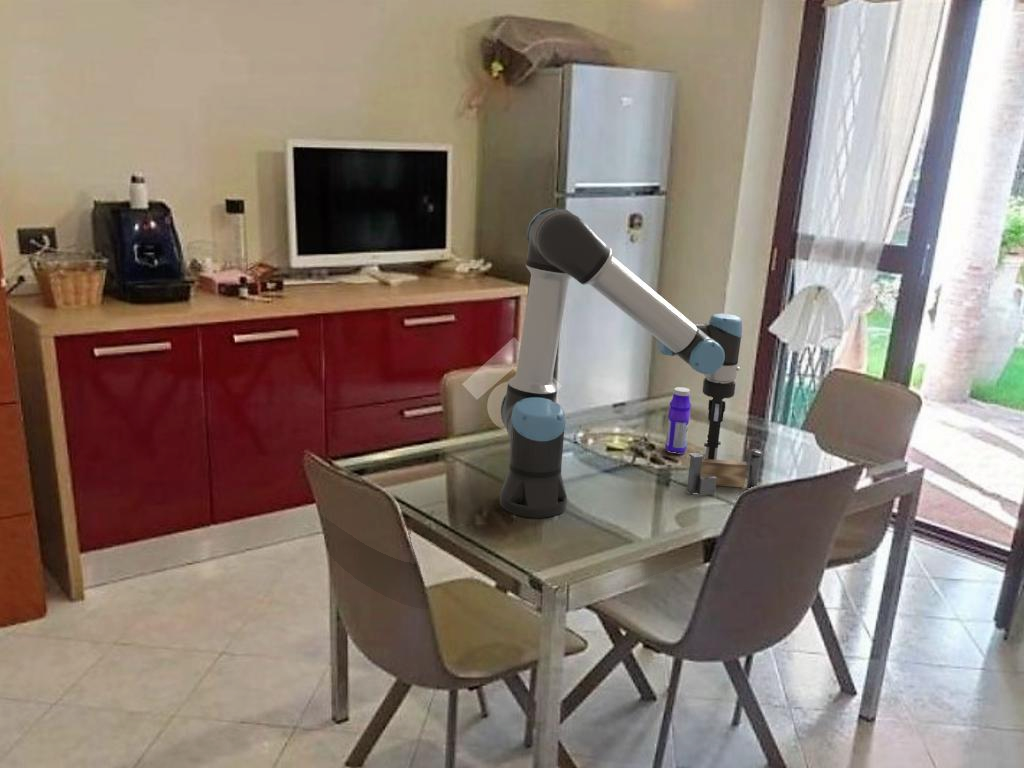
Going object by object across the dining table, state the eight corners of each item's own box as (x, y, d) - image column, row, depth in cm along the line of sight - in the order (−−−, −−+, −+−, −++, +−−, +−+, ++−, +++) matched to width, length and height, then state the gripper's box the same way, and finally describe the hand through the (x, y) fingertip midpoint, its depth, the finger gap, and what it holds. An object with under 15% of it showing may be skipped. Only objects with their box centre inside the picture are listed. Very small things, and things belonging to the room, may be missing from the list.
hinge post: (749, 491, 215) (754, 454, 212) (742, 486, 218) (747, 449, 215) (760, 490, 216) (765, 453, 213) (753, 485, 219) (758, 448, 216)
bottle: (685, 456, 236) (693, 393, 231) (664, 454, 237) (670, 391, 232) (686, 447, 243) (693, 386, 238) (665, 445, 244) (671, 384, 239)
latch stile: (692, 497, 210) (697, 459, 207) (684, 490, 213) (689, 453, 211) (714, 495, 211) (719, 457, 209) (706, 489, 215) (711, 451, 212)
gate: (742, 483, 218) (745, 461, 217) (744, 487, 216) (747, 465, 214) (690, 479, 219) (692, 457, 217) (691, 483, 217) (694, 461, 215)
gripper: (736, 388, 206) (724, 482, 213) (735, 373, 218) (725, 462, 225) (703, 384, 208) (693, 478, 215) (704, 370, 220) (695, 459, 227)
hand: (709, 470), depth 220 cm, fingers closed
